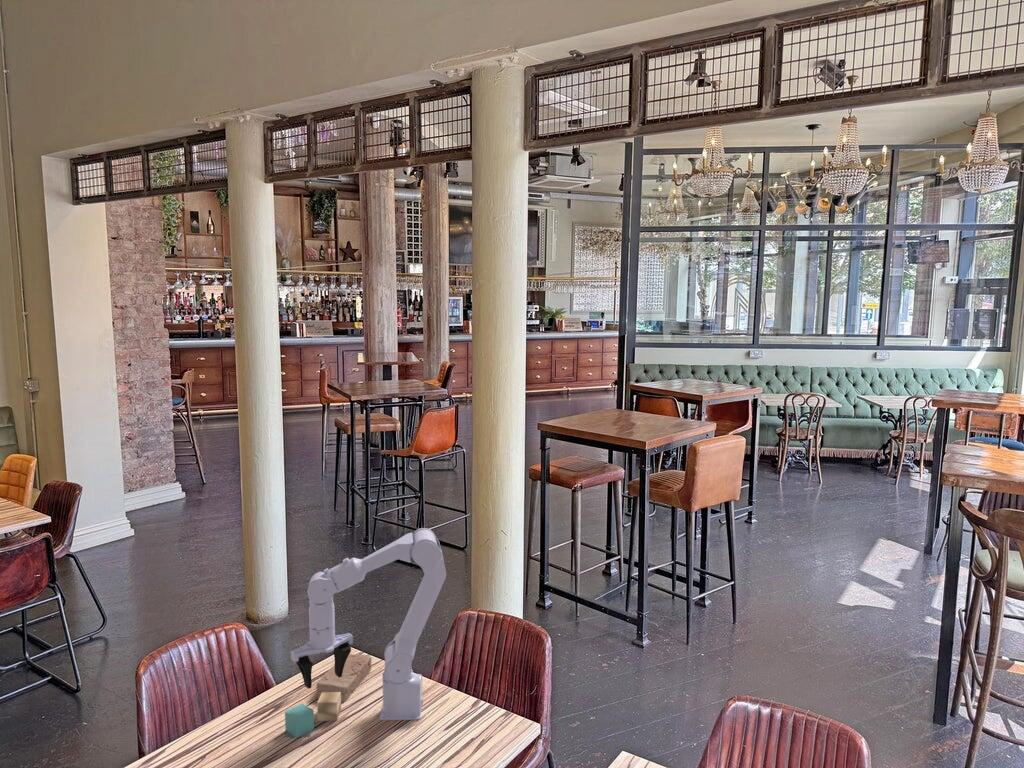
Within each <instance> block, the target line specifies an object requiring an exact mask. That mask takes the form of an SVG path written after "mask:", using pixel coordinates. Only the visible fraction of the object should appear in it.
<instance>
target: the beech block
mask: <svg viewBox="0 0 1024 768" xmlns="http://www.w3.org/2000/svg"><path fill="white" fill-rule="evenodd" d="M316 705H317V709H316V710H317V711H316V712H317V722H333V721H334V722H336V721H338V719H339V718H340V714H341V711H342V702H341V692H322V693H321V696H320V698H319V699H318V700H317V703H316Z"/></svg>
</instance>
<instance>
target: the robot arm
mask: <svg viewBox="0 0 1024 768" xmlns="http://www.w3.org/2000/svg"><path fill="white" fill-rule="evenodd" d="M440 543H441V542H440V541H439V539H438V537H437V536H436V534H435V533H434V531H433V530H432V529H429V528H427V527H421V528H418V529H416V530H415V531H413V532H409V533H406V534H404V535H403V536H401V537H399V538H398V539H396V540H395V541H393V542H391V543H389V544H387V545H385V546H384V547H382V548H380V549H378V550H376V551H374V552H373V553H370V554H369V555H367V556H365V557H363V558H357V557H352V558H349V557H346V558H343V560H342V563H339V564H337V565H335V566H333V567H331V568H328V567H327V568H325V569H324V570H323V571H318V572H316V573H314V574H313V575H312V576H311V577H310V579H309V582H308V587H307V597H308V599H309V600H308V604H309V606H308V621H309V623H308V624H309V625H308V626H309V627H308V628H309V642H307V643H305V644H304V645H302V646H299V647H298V648H296V649H294V650H291V651H290V660H291V661H292V662H293V663H295V664H297V666H298V667H297V668H298V669H299V671H300V673H301V676H302V679H303V684H304V687H306V688H307V689H312V670H313V669H312V668H313V664H314V663H313V662H312V661H311V659H310V656H311V657H312V656H314V655H318V654H321V653H326V654H329V653H331V652H333V655H334V656H333V657H334V664H335V674H336V675H337V676H338V677H339V678H340V677H342V673H343V669H344V665H345V662H346V660H347V657H348V655H349V654H351V653H352V647H351V646H350V645H352V644H354V636H353V635H352V634H351V633H350V632H347V633H342V634H336V622H335V621H336V619H335V617H336V616H335V603H334V595H335V594H337V593H340V592H342V591H344V590H347V589H348V588H350V587H353V586H354V585H356V584H358V583H360V582H361V583H362V582H363V581H364V580H365V577H366V575H367V574H368V573H369V572H372V571H374V570H377V569H379V568H380V567H383V566H386V565H388V564H389V563H392V562H395V561H397V560H400V561H403V562H406V563H411V558H412V559H413V561H414V563H415V564H416V565H418V567H420V568H421V570H422V572H423V574H424V575H423V577H422V579H421V582H420V583H419V586H418V588H417V591H416V593H415V595H414V598H413V599H412V602H411V603H410V607H409V608H408V610H407V613H406V614H405V615H406V616H405V618H404V620H403V623H402V625H401V627H400V629H399V631H398V632H397V633H396V634H395V636H394V638H393V639H392V640H391V642H389V643H388V644H387V645H386V647H385V649H384V652H383V655H384V668H383V670H384V671H383V672H382V707H381V711H380V713H379V721H414V720H420V719H421V714H422V707H423V706H424V697H423V675H422V674H421V673H415V672H414V670H413V669H412V662H413V660H414V657H415V653H416V649H417V644H418V642H419V639H420V637H421V635H422V632H423V630H424V628H425V627H426V624H427V621H428V618H429V617H430V615H431V612H432V610H433V607H434V605H435V603H436V601H437V598H438V596H439V594H440V591H441V589H442V587H443V585H444V583H445V580H446V578H447V569H446V565H445V560H444V554H443V551H442V547H441V544H440Z"/></svg>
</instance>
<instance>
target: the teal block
mask: <svg viewBox="0 0 1024 768" xmlns="http://www.w3.org/2000/svg"><path fill="white" fill-rule="evenodd" d="M314 712H315V711H314V709H312V708H311V707H309V706H307V705H306V704H305V703H303V702H302V703H300V704H298V705H296V706H294V707H291V708H290V709H287V710H286V711H284V719H285V721H284V722H285V723H284V725H285V726H284V727H285V731H286V732H289V733H290V734H292V735H293V736H294V737H293V738H295V739H297V738H301V737H300V736H302V735H304V734H305V733H307V732H309V731H311V730H312V731H314V730H315V724H314V722H315V717H314V716H315V715H314V714H315V713H314ZM312 731H311V732H312Z"/></svg>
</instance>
